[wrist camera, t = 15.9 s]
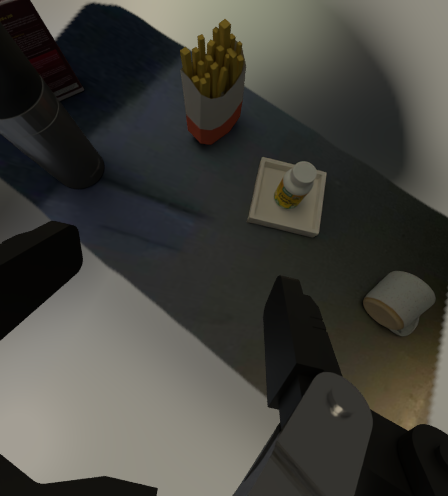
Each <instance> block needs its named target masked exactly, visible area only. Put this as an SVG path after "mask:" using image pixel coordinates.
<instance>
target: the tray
mask: <svg viewBox="0 0 448 496" xmlns="http://www.w3.org/2000/svg"><path fill="white" fill-rule="evenodd" d="M294 166H295V165H293V164H289V163H285V162H281V161H277V160H273V159H269V158H265V157H262V159H261V162H260V164H259V169H258V174H257V178H256V183H255V187H254V192H253V197H252V201H251V206H250V210H249V215H248V220H247V222H249V223H254V224H258V225H262V226H266V227H270V228H274V229H278V230H283V231H287V232H291V233H295V234H299V235H303V236H308V237H312V238H313V237H315V236H316V235H318V234H319V227H320V219H321V212H322V204H323V196H324V188H325V181H326V172H322V171H318V170H316V172H317V176H316V178H315V180H314V184H313V187H312V189H311V191H310V192H309V193H308V194H307V195H306V196H305V197H304V199H303V200H302V201H301V202H300V203H299V204H298V205H297V206H296V207H295V208H293V209H290V210H284V209H281V208H280V207H278V206H277V205H276V203H275V201H274V193H275V191H276V189H277V187H278V185H279V184H280V182H281V180H282V178H283V177H284V175H285V173H286V172H287V171H288V170H290V169H291V168H293V167H294Z"/></svg>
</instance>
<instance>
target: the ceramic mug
mask: <svg viewBox="0 0 448 496" xmlns="http://www.w3.org/2000/svg"><path fill="white" fill-rule="evenodd" d="M435 299H436V298H435V294H434V292H433V291H432V289H431V288H430V287H429V286H428V285H427V284H426V283H425V282H424V281H422V280H421V279H419V278H418V277H416V276H414V275H412V274H409V273H407V272H402V271H393V272H391V273H389V274H388V275H387V276H386V277H385V278H384V279H383V280H381V281H380V282H379V283H378V284H377V285H376V286H375V287H374V288H373V289H372V290H371V291H370V292H369V293H368V294H367V295H366V297H365V298H364V300H363V305H364V308H365V310H366V311H367V313H368V314H369V315H370V316H371V317H372V318H373V319H374V320H375V321H377V322H378V323H379V324H381V325H382V326H385V327H387V328H389V329H390V330H391V331H392V332H394V333H395V334H397V335H400V336H407V335H409V334H410V333H412V332H413V331H414V330H415V328H416V326H417V325H418V322H419V316H420V315H421V314H422V313H423V312H425V311H426V310H427V309H428V308H429V307H431V306H432V305H433V304H434V302H435ZM397 330H398V331H397Z"/></svg>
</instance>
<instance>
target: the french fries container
mask: <svg viewBox="0 0 448 496" xmlns="http://www.w3.org/2000/svg"><path fill="white" fill-rule="evenodd" d="M230 31H231V24H230V23H229V22H228V21H227V20H226V19H224V20H223V21H221V22H220V23H219V29H218V28H217V27H215V28H214V29H213V40H210V41H209V42H208V44H207V54H205V38H204V37H203V35H199V36H198V48H197V47H195V48H193V49H192V60H193V62H191V54H190V51H189V50H188V49H187V48H186V47H185V48H183V49H182V50H181V51H180V54H181V59H182V65H183V68H182V69H180V70H181V78H182V86H183V94H184V101H185V109H186V117H187V125H188V131H189V132H190V133H191V134H192V135H193V136H194V137H195V138H196V139H197V140H198V141H199V142H200V143H201V144H209V145H211V144H213V143H214V142H216V141H217V140H218V139H220V138H221V137H223V136H224V135H225V134H227V133H228V132H230V130H231V129H232V127H233V126H234V124H235V123H236V121H237V120H238V118H239V117H240V113H241V107H242V100H243V91H244V81H245V71H246V64H245V59H244V55H243V50H242V43H241V42H240V41H239V42H237V41H236V40H235V36H234V35H233V34H230Z"/></svg>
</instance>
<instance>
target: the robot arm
mask: <svg viewBox="0 0 448 496" xmlns="http://www.w3.org/2000/svg"><path fill="white" fill-rule="evenodd" d="M0 134H2V135H3V136H4V137H5V138H7V139H8V140H9V141H10V142H12V143H13V144H14V145H15V146H16V147H17V148H18V149H20V150H21V151H22V152H23V153H25V154H26V155H27V156H28V157H30V158H31V159H32V160H33V161H35V162H36V163H37V164H38V165H40V166H41V167H42V168H43V169H45V170H46V171H47V172H48V173H50V174H51V175H52V176H54V177H55V178H56V179H58V180H59V181H60V182H61V183H63V184H64V185H65V186H67V187H70V188H74V189H82V188H86V187H89V186H91V185H93V184H95V183H96V182H97V181H98V180H99V179H100V178H101V176H102V174H103V171H104V162H103V159H102V157H101V156H100V155H99V153H98V152H97V151H96V149H95V148H94V147H93V145H92V144H91V143H90V141H89V140H88V139H87V137H86V136H85V135H84V133H83V132H82V131H81V129H80V128H79V127H78V125H77V124H76V123H75V121H74V120H73V119H72V117H71V116H70V115H69V113H68V112H67V111H66V109H65V108H64V107H63V105H62V104H61V103H60V101H59V100H58V99H57V97H56V96H55V95H54V93H53V92H52V91H51V89H50V88H49V87H48V85H47V84H46V83H45V81H44V80H43V79H42V77H41V76H40V75H39V73H38V72H37V71H36V69H35V68H34V67H33V65H32V64H31V63H30V61H29V60H28V59H27V57H26V56H25V55H24V53H23V52H22V51H21V49H20V48H19V46H18V45H17V44H16V42H15V41H14V40H13V38H12V37H11V36H10V34H9V33H8V31H7V30H6V29H5V27H4V26H3V25H2V23H1V22H0ZM82 262H83V256H82V250H81V244H80V237H79V231H78V229H77V227H76V226H74V225H69V224H65V223H61V222H57V221H50V222H48V223H46V224H44V225H42V226H40V227H38V228H36V229H34V230H32V231H29V232H25V233H22V234H18V235H16V236H14V237H12V238H9V239H7V240H5V241H3V242H2V244H0V340H2V339H3V338H4V337H5V336H6V335H7V334H8V333H10V332H11V331H12V330H13V329H14V328H15V327H16V326H18V325H19V324H20V323H21V322H22V321H23V320H24V319H25V318H27V317H28V316H29V315H30V314H31V313H32V312H33V311H35V310H36V309H37V308H38V307H39V306H40V305H42V303H44V302H45V301H46V300H47V299H48V298H49V297H51V296H52V295H53V294H54V293H55V292H56V291H57V290H59V289H60V288H61V287H62V286H63V285H64V284H66V283H67V282H68V281H69V280H70V279H71V278H72V277H73V276H75V274H77V273H78V272H79V270H80V268H81V266H82ZM322 320H323V319H322V316H321V313H320V310H319V307H318V306H317V305H316V303H315V302H314V301H313V299H312V298H311V297H310V296H308V295H304V294H303V291H302V288H301V284H300V281H299V280H297V279H293V278H289V277H285V276H280V275H279V276H278V277H277V279H276V281H275V283H274V285H273V288H272V290H271V293H270V295H269V297H268V300H267V302H266V305H265V308H264V315H263V322H264V342H265V362H266V382H267V402H268V407H270V408H274V409H278V410H279V412H280V423H279V424H278V426H277V427H276V429H275V431H274V433H273V434H272V435H271V437H270V439H269V440H268V442H267V443H266V445H265V446H264V448H263V450H262V451H261V453H260V454H259V456H258V457H257V459H256V461H255V462H254V464H253V465H252V467H251V468H250V470H249V472H248V473H247V475H246V476H245V478H244V480H243V481H242V483H241V484H240V486H239V487H238V489H237V490H236V492H235V493H234V494H233V496H448V435H447V434H446V433H444V432H443V431H441V430H439V429H437V428H435V427H433V426H430V425H426V424H420V425H417V426H415V427H414V428H412V429H411V430H409V431H407V430H406V429H404V428H402V427H400V426H399V425H397V424H395V423H393V422H392V421H390V420H388V419H386V418H384V417H383V416H381V415H379V414H377V413H376V412H374V411H372V410H371V409H370V408H369V406H368V404H367V402H366V400H365V399H364V397H363V395H362V394H361V393H360V392H359V390H358V389H357V388H356V387H355V386H354V385H353V384H352V383H350V382H349V381H348V380H346V379H345V378H343V376H342V374H341V371H340V368H339V365H338V362H337V359H336V356H335V353H334V351H333V348H332V345H331V342H330V339H329V336H328V333H327V332H326V327H325V325H324V322H323V321H322ZM157 490H158V488H155V487H150V486H146V485H142V484H138V483H133V482H129V481H125V480H120V479H116V478H112V477H107V476H102V477H94V478H86V479H78V480H71V481H63V482H55V483H47V484H40V483H37V482H35V481H33V480H32V479H31V478H29V477H28V476H27V475H26V474H25V473H23V472H22V471H21V470H20V469H18V468H17V467H16V466H14V465H13V464H12V463H11V462H9V461H8V460H7V459H6V458H5V457H3V456H2V455H1V454H0V496H156V495H157Z"/></svg>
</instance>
